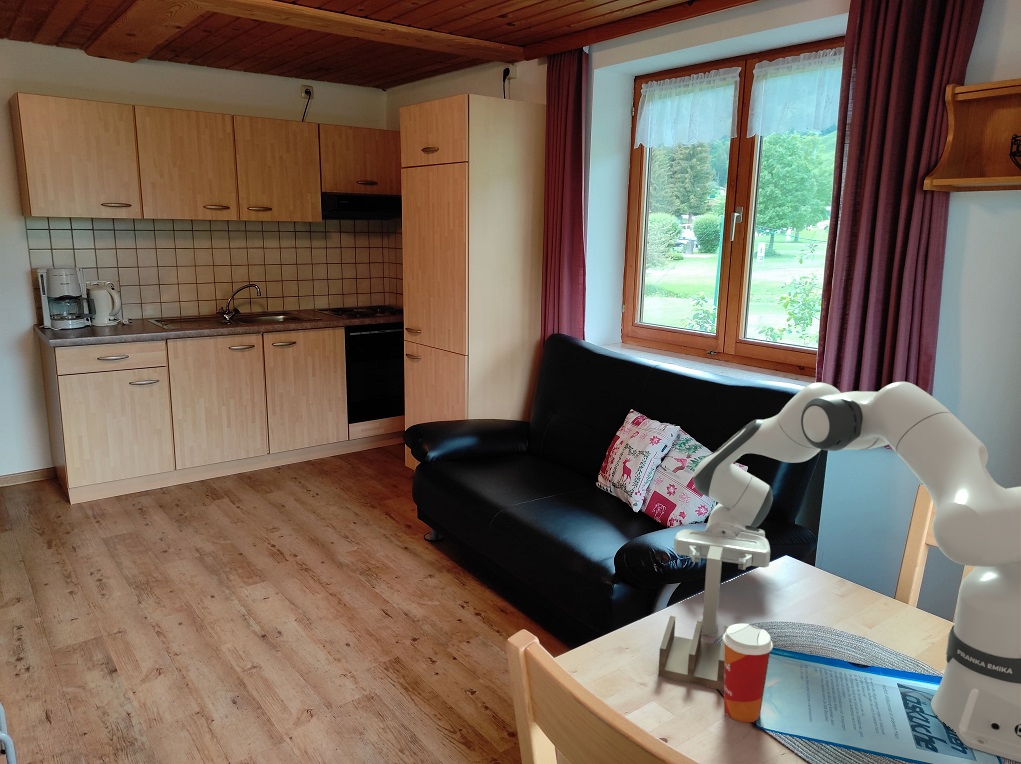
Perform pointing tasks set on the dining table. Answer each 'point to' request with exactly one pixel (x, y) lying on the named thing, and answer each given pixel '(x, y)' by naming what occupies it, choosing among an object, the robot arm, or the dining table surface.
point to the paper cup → (745, 671)
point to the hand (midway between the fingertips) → (718, 562)
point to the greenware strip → (712, 590)
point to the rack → (691, 658)
